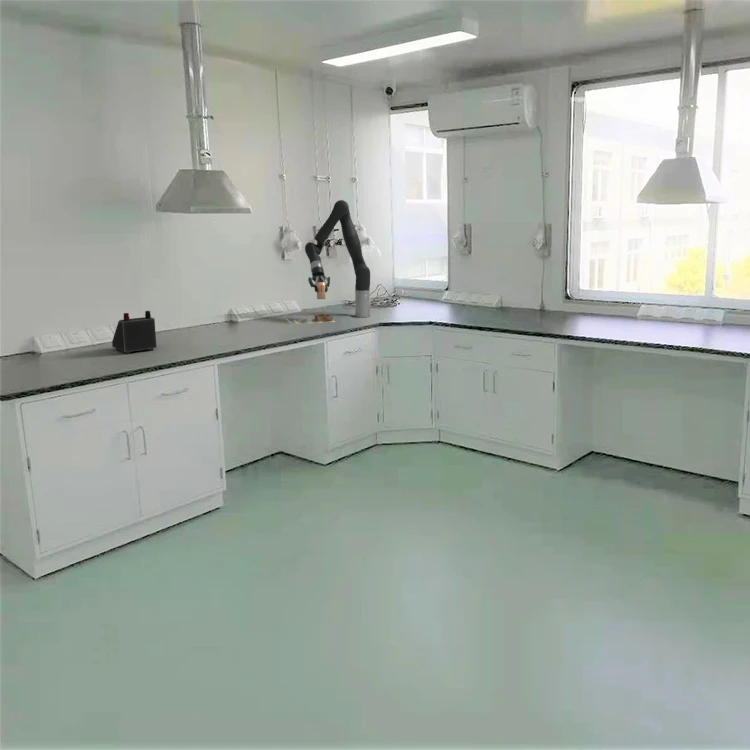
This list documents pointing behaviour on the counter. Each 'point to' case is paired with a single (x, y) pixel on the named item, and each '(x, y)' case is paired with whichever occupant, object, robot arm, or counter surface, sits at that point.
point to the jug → (321, 290)
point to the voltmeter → (135, 334)
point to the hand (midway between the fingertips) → (321, 291)
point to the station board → (316, 319)
